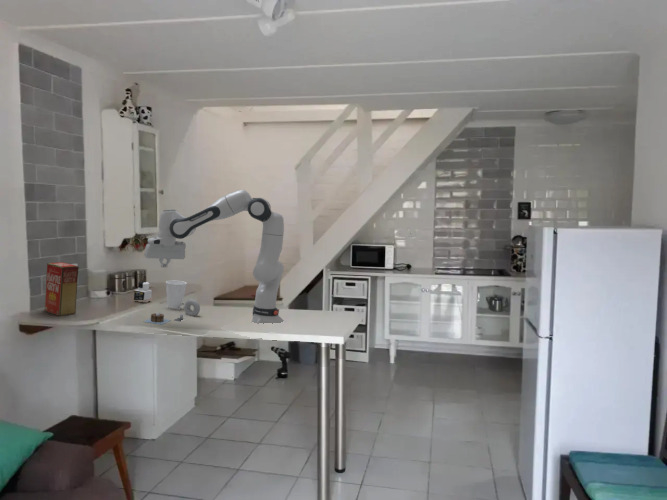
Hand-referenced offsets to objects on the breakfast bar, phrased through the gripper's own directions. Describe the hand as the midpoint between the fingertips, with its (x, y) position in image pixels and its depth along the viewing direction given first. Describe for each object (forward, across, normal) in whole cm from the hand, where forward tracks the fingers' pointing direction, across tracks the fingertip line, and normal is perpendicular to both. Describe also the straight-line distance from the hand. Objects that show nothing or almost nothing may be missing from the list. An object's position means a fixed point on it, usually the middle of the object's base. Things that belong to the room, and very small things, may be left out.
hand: (164, 267), depth 255 cm
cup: (+29, -17, -25) cm, 42 cm away
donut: (+29, -20, -8) cm, 36 cm away
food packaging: (+29, +42, -27) cm, 58 cm away
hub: (+29, +2, +2) cm, 29 cm away
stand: (+29, -11, +2) cm, 31 cm away
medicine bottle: (+29, -5, -46) cm, 55 cm away
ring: (+28, +2, +1) cm, 28 cm away
